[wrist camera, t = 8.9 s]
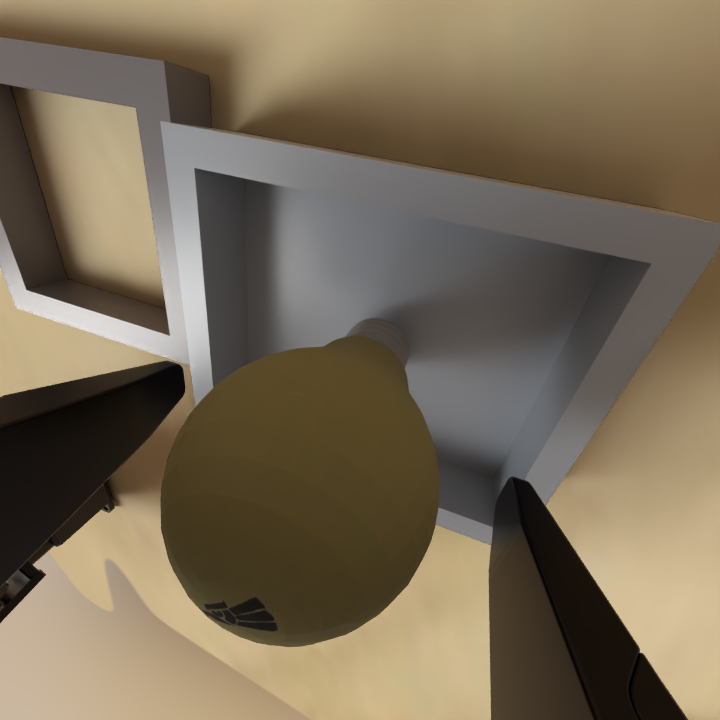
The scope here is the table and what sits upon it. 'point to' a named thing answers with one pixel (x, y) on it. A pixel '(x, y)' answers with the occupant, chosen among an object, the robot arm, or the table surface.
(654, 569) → the table surface
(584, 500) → the table surface
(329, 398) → the light bulb
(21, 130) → the socket collar
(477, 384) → the parts tray
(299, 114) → the table surface
